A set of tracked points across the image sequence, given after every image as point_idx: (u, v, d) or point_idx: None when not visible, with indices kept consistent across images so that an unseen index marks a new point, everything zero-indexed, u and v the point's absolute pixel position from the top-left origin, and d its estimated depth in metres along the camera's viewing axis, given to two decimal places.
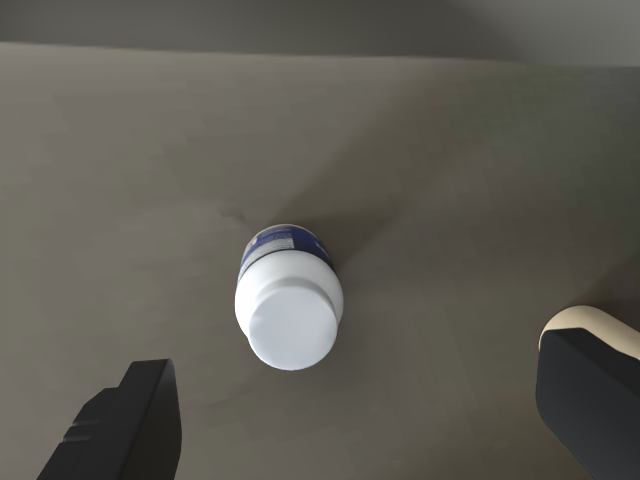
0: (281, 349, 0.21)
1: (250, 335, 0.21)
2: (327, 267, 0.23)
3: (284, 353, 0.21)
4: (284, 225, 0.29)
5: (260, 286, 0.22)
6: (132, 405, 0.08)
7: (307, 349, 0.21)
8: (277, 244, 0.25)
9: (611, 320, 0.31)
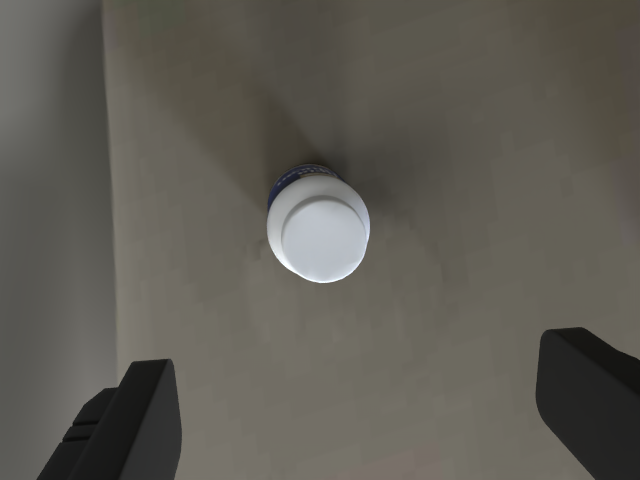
0: (343, 253, 0.22)
1: (326, 280, 0.23)
2: (283, 191, 0.24)
3: (347, 250, 0.22)
4: None
5: None
6: (132, 405, 0.08)
7: (346, 229, 0.22)
8: None
9: None
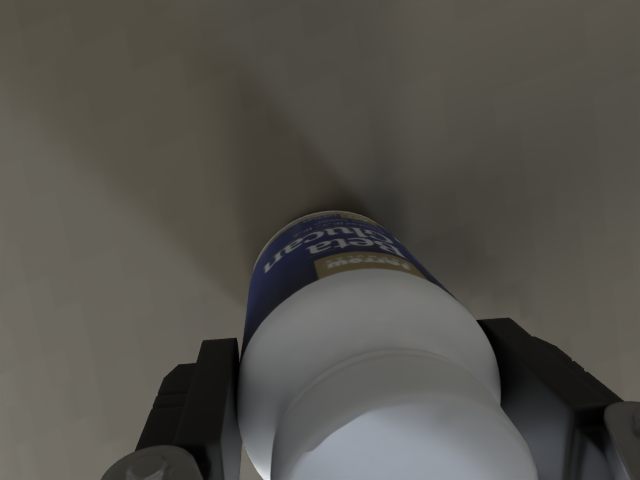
0: None
1: None
2: (273, 322, 0.09)
3: None
4: None
5: None
6: (214, 376, 0.09)
7: (480, 475, 0.07)
8: None
9: None
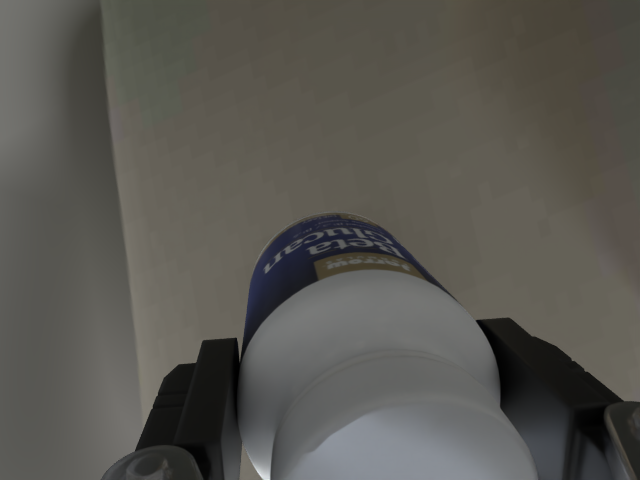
0: None
1: None
2: (273, 323, 0.09)
3: None
4: None
5: None
6: (214, 376, 0.09)
7: (479, 476, 0.07)
8: None
9: None
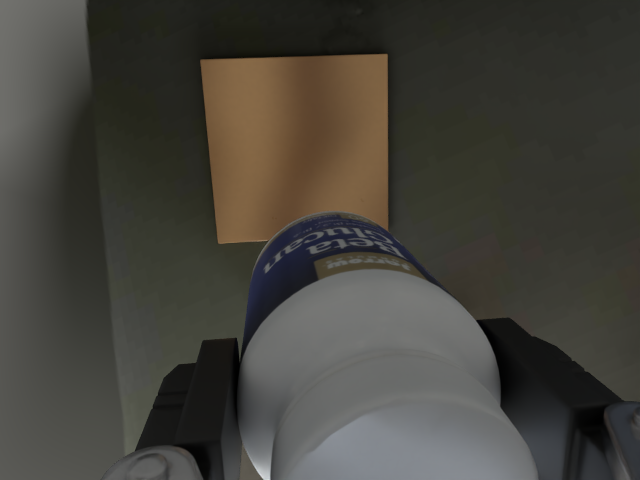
0: None
1: None
2: (273, 322, 0.09)
3: None
4: None
5: None
6: (214, 376, 0.09)
7: (479, 475, 0.07)
8: None
9: None
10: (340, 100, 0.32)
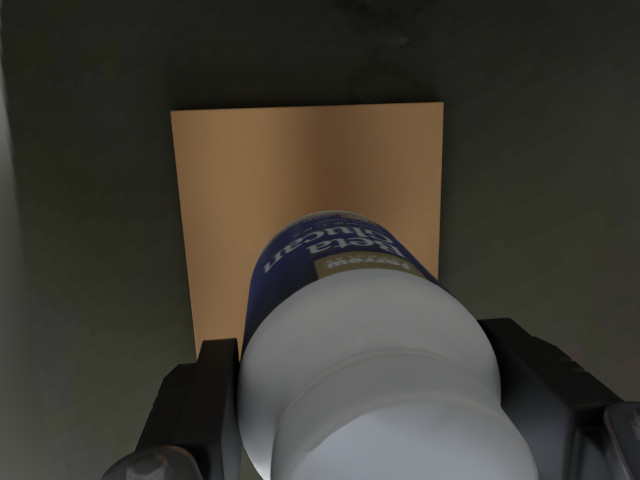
0: None
1: None
2: (273, 322, 0.09)
3: None
4: None
5: None
6: (214, 376, 0.09)
7: (480, 475, 0.07)
8: None
9: None
10: (374, 167, 0.22)
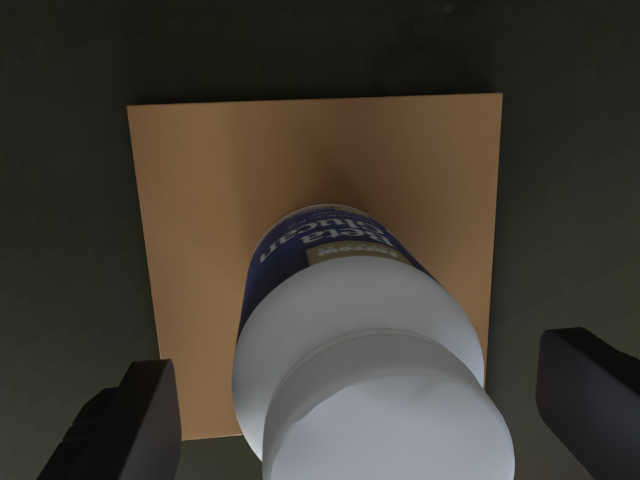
0: None
1: None
2: (266, 306, 0.09)
3: None
4: None
5: None
6: (132, 405, 0.08)
7: (457, 444, 0.07)
8: None
9: None
10: (407, 182, 0.16)
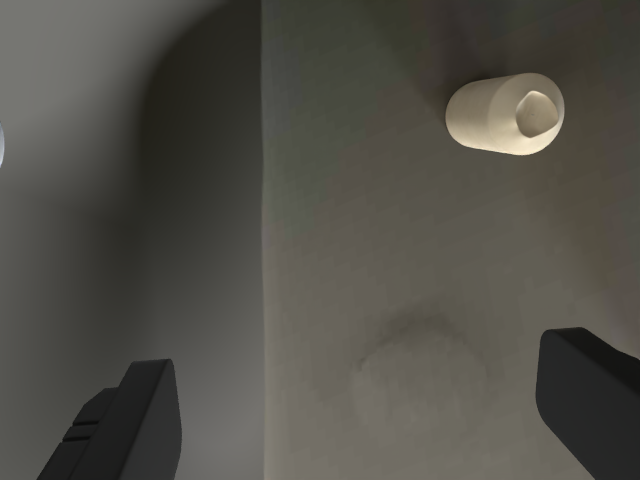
0: None
1: None
2: None
3: None
4: None
5: None
6: (132, 405, 0.08)
7: None
8: None
9: (457, 110, 0.38)
10: None
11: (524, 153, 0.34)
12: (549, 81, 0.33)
